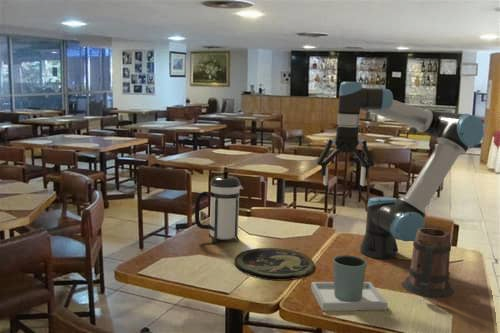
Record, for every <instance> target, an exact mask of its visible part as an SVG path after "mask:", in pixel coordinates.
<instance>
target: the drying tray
mask: <svg viewBox="0 0 500 333" xmlns="http://www.w3.org/2000/svg"><path fill="white" fill-rule="evenodd" d="M310 286H311V287H310V290H311V292H312V294H313V297H315V299H316V301H317V303H318V305H319V306H320V309H321V311H322V312H342V311H343V312H345V311H346V312H350V311H351V312H360V311H361V310H362V311H364V310H365V312H366V311H367V310H368V311H367V312H372V311H373V312H374V311H375V312H377V311H379V312H380V311H381V310H387V311H388V304H389V303H388V301H386V299H385V298H384V296H383V295H382V294H381V293H380V292H379V291H378V290H377V288H376V287H375V285H373V283H372V282H371V281H364V284H363V290H362V291H363V292H362V298H361V300H360V301H357V302H345V301H341V300H339V299H337V298H336V297H335V294H334V289H335V287H334V281H311V285H310ZM358 310H360V311H358ZM370 310H372V311H370ZM362 311H361V312H362Z"/></svg>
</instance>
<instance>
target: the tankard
mask: <svg viewBox="0 0 500 333" xmlns="http://www.w3.org/2000/svg"><path fill="white" fill-rule="evenodd" d="M450 238H451V237H450V232H448V231H444V230H442V229H440V228H439V229H438V228H434V227H425V228H419V229H418V230H417V233H416V237H415V239H414V240H413V241H412V242H413V244H412V246H413V247H412V255H411V262H410V266H409V271H408V272H409V275H408V276H407V277H406V278H405V280H404V281H402V283H401V286H402V288H403V289H404V290H405V291H407V292H409V293H411V294H413V295H416V296H418V297H419V296H420V297H422V298H428V299H447V298H450V297H451V298H452V296H454V294H455V292H454V289H453V288H452V286H451V284H450V283H449V280H450V255H451V251H452V244H451V239H450Z"/></svg>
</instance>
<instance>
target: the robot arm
mask: <svg viewBox="0 0 500 333" xmlns="http://www.w3.org/2000/svg"><path fill="white" fill-rule="evenodd" d="M337 108H338V109H337V111H338V112H337V125H338V126H336V135H335V136H336V138H335V139H331V138H327V140H326V145H325V147H324V148H323V150H322V152H321V153H320V156H319V157H318V159H317V160H316V164H317V165H319V166H321V171H320V172H321V173H320V175H321V176H323V181H322V182H323V185H324V186H328V178H329V176H328V175H329V167H328V165H329V164H330V163H331V162H332V161H333V159H335V157H336V156H337V155H339V154H340V152H341V153H349V154H351V153H353V154H354V156H355V157H356V158H357V159H358V161H359V162H360V163H361V165H362V166H360V167H361V169H360V180H359V185H360V186H362V187H365V184H366V183H365V181H366V178H367V177H368V175H369V169H370V168H371V167H374V166H375V164H374V161H373V159H372V157H371V154H370V151H369V149H368V147H367V146H368V143H367V142H368V141H367V140H366V139H365V140H364V139H361V140H359V127H358V126H359V124H360V114H361V110H362V111H365V112H368V113H371V114H374V115H377V116H380V117H383V118H385V119H389V120H391V121H394V122H398V123H400V124H403V125H406V126H409V127H412V128H415V129H416V131H417V132H418V133H422V134H424V135H427V136H429V137H431V138H433V139H435V140H436V141H437V145H436V146H435V149H434V150H433V151H432V153H431V155H430V156H429V158H428V159H427V161H426V162H425V164H424V165H423V167H422V169H421V170H420V172H419V173H418V174H417V176H416V178H415V179H414V182H412V185H410V188H409V189H408V190H407V192H406V193H405V196H401V197H398V198H395V197H385V196H381V197H379V196H378V197H377V196H375V197H371V198H368V201H367V205H366V210H367V211H366V219H365V220H366V223H365V233H364V235H363V237H362V240H361V243H360V245H359V252H360V253H361V254H362V255H364V256H367V257H370V258H374V259H383V260H385V259H387V260H389V259H394V258H397V257H398V254H399V249H398V243H397V240H399V241H402V242H414V239H415V237H416V233H417V230H418V229H419V228H426V227H425V226H426V225H425V224H426V222H425V217H426V215H427V213H426V208H427V206H428V204H429V203H430V201H431V200H432V198H433V197H434V195H435V194H436V192H437V191H438V189H439V188H440V186H441V184H442V183H443V181H444V179H445V178H446V177H447V175H448V173H449V172H450V170H451V169H452V167H453V165H454V164H455V162H456V161H457V160H458V158H459V156H463V155H465V154H466V153H467V151H468V150H469V148H472V147H475V146H478V145H479V144H481V143H482V140H483V138H484V133H485V129H484V123H483V122H482V120H481V119H480V118H479V117H478V116H476V115H473V114H469V113H457V112H451V111H449V112H448V111H436V110H432V109H429V108H425V109H422V108H418V107H416V106H413V105H410V104H407V103H404V102H403V101H402V102H401V101H398V100H395V99H394V95H393V92H392V91H391V90H390V89H388V88H380V87H379V88H377V87H375V88H374V87H371V88H370V87H363V85H362V82H359V81H342V82H341V83H340V86H339V91H338V107H337ZM334 145H335V148H334V149H333V150H332V152H331V153H330V154H329V155H328V153H329V152H330V149H331V147H332V146H334ZM358 146H359V147H361V149H362V151H363V154H364V157H365V158H364V157H363V156H362V154H361V153H360V152H359V150H358V148H357V147H358ZM327 155H328V156H327ZM365 159H366V160H365Z"/></svg>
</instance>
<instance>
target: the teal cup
mask: <svg viewBox="0 0 500 333" xmlns="http://www.w3.org/2000/svg"><path fill="white" fill-rule="evenodd" d="M366 268H367V260H365V259H364V258H362V257H359V256H355V255H348V254H347V255H345V254H343V255H338V256H335V257H334V258H333V282H334V287H335V289H334V294H335V297H336V298H337V299H339V300H341V301H345V302H357V301H360V300H361V298H362V292H363V291H362V290H363V284H364V282H365V274H366Z"/></svg>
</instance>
